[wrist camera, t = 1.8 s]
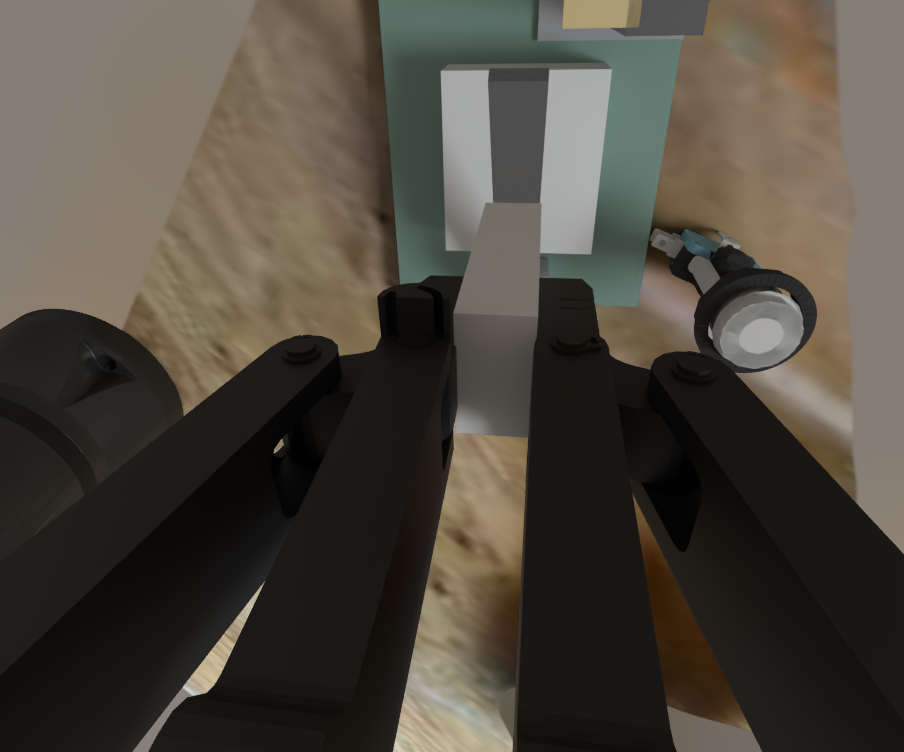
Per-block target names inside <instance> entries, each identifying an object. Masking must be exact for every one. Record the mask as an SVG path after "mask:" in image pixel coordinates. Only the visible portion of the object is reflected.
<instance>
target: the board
mask: <svg viewBox="0 0 904 752" xmlns="http://www.w3.org/2000/svg"><path fill="white" fill-rule="evenodd" d="M378 1H379V15H380V28H381V41H382V54H383V67H384V80H385V93H386V106H387V119H388V132H389V146H390V159H391V172H392V185H393V198H394V211H395V224H396V237H397V250H398V263H399V277H400V284H405V283H420V282H422V281H423V280H425V279H426V278H427V277H429V276H430V275H440V276H464V275H465V271H466V268H467V265H468V261H469V258H470V254H471V251H472V248H473V244H474V241H475V237H476V234H477V230H478V227H479V224H480V220H481V217H482V213H483V210H484V207H485V203H486V202H488V203H493V188H492V165H491V142H490V119H489V95H488V76H489V68H549V84H548V98H547V112H546V126H545V140H544V154H543V168H542V182H541V196H540V203H541V204H542V207H541V239H540V271H539V277H545V278H574V279H583V280H584V281H585V282H586V283H587V284H588V285H589V286H590V287H591V288H592V289H593V294H594V302H595V305H606V306H633V307H638V301H639V295H640V289H641V283H642V277H643V271H644V265H645V259H646V253H647V247H648V241H649V235H650V229H651V223H652V217H653V211H654V205H655V199H656V193H657V187H658V181H659V175H660V169H661V163H662V157H663V151H664V145H665V139H666V133H667V127H668V121H669V115H670V109H671V103H672V97H673V91H674V85H675V80H676V74H677V68H678V62H679V56H680V50H681V44H682V39H684V35H673V36H623V35H622V34H620V33H618V32H616V31H615V30H613V29H611V28H578V29H562V17H563V3H564V0H378Z"/></svg>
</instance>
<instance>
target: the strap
mask: <svg viewBox="0 0 904 752" xmlns="http://www.w3.org/2000/svg"><path fill="white" fill-rule="evenodd" d="M548 84H549V68H489V76H488V95H489V119H490V142H491V165H492V188H493V203H540V196H541V182H542V168H543V154H544V140H545V126H546V112H547V98H548Z"/></svg>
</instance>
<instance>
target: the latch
mask: <svg viewBox="0 0 904 752" xmlns="http://www.w3.org/2000/svg"><path fill="white" fill-rule="evenodd" d="M708 4H709V0H564V3H563V17H562V29H578V28H611V29H613V30H615V31H616V32H618V33H620V34H622V35H623V36H673V35H703V31H704V26H705V21H706V15H707V10H708Z"/></svg>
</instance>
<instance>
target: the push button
mask: <svg viewBox="0 0 904 752" xmlns="http://www.w3.org/2000/svg"><path fill="white" fill-rule="evenodd" d="M717 233H718V234H719V235H720V237H721V238H722V239H723V240H722V242H721V243H717V242H715V241H713V240H711V239H708V238H706V237H704V236H702V235H699V234H697V233H695V232H692V231H690V230H688V229H685V230H684V232H683V233H682V235H681V236H680V235H677V234H675V233H673V234H672V235H671V234H669V233H666V232H664V231H662V230H659V229H657V228H656V229H654V231H653V233H652V234H651V236H650V237H649V240H650V241H652V243H651V244H652V246H653V247H655V248H658V249H660V250H662V251H665V252H667V253H666V255H667V256H669V257H671V259H672V261H671V263H670V264H669V268H670V270H671V272H672V274H673V275H674V276H676V277H678V278H680V279H683V280H685V281H687V282H690V283H691V284H693V285H694V286H695V288H696V290H697V292H698V293H699V295H700V296H701V298H700V299H699V301H698V304H697V308H696V311H695V314H694V318H695V323H694V336H695V340H696V343H697V346H698V348H699V350H700V352H701V353H702V354H706V355H708V356H710V357H712V358H715V359H717V360H719V361H721V362H723V363H724V364H725V365H727V366H728V367H729V368H731V369H732V370H733V371H734V372H736V373H752V372H759V371H764V370H767V369H770V368H773V367H775V366H778V365H780V364H782V363H783V362H785V361H787V360H788V359H790V358H791V357H793V356H794V355H795V354H796V353H797V352H798V351H800V350H801V349H802V347H803V346H804V345H805V344H806V343H807V341H808V340H809V338H810V336H811V335H812V333H813V330H814V328H815V324H816V319H817V308H816V304H815V301H814V298H813V296H812V295H811V293H810V292H809V291H808V289H807V288H806V287H805V286H804V285H803V284H802V283H801V282H800V281H798V280H797V279H795V278H793V277H792V276H789V275H787V274H784V273H782V272H781V271H778V270H769V269H761V268H760V267H759V265H758V264H757V263H756V260H755V259H754V258H752V257H750V256H748V255H746V254H745V253H743V252H742V251H740V250H739V249H740V246H739V244H738V243H737V241H736V240H735V239H734V238H733V237H731V236H729V235H727V234H725V233H722V232H720V231H718V232H717ZM661 234H662V235H661ZM660 245H661V246H660ZM777 287H778V288H781V289H784V290H786V291H788V292H789V293H790V295H791V298H790V297H788V296H787V295H784V294H782V292H781V291H780V290H779V289H778V288H777ZM709 326H710V328H711V330H712V335H713V340H712V339H711V338H710V337H709V336H708V327H709Z"/></svg>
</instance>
